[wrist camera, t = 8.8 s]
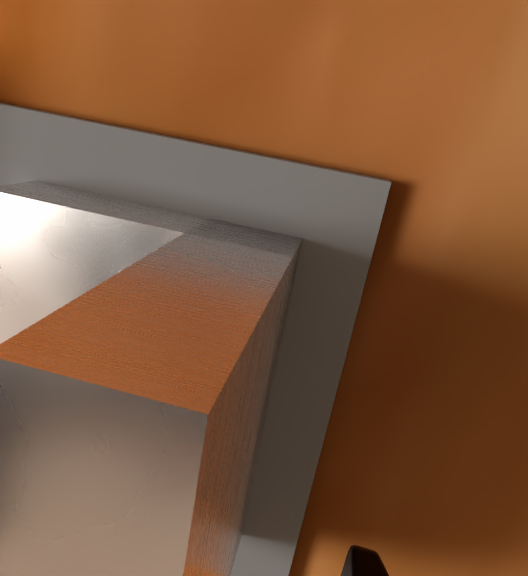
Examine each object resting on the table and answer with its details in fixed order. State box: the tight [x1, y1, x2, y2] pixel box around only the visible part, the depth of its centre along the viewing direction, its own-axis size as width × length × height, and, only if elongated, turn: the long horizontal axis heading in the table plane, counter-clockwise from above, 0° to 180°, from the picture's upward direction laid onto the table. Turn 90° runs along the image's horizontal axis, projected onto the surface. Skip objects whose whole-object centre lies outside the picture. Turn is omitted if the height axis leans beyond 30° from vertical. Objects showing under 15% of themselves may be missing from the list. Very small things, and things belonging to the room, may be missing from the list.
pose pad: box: [0, 102, 391, 576], centre depth 12 cm, size 9×11×1 cm
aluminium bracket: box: [0, 181, 303, 576], centre depth 9 cm, size 8×6×6 cm
